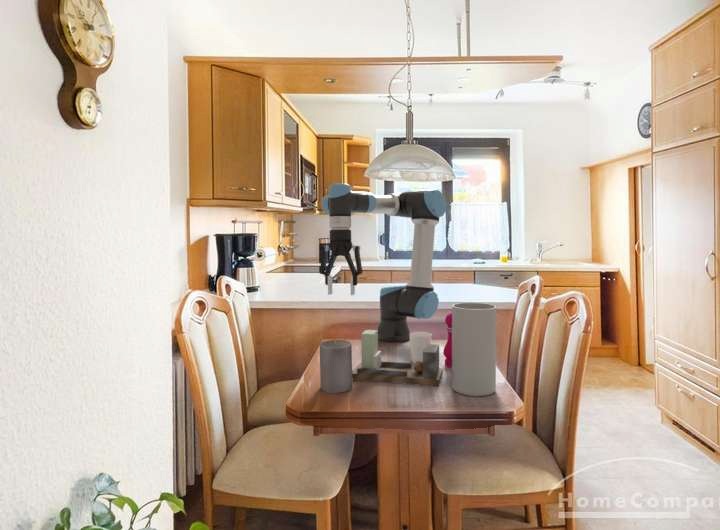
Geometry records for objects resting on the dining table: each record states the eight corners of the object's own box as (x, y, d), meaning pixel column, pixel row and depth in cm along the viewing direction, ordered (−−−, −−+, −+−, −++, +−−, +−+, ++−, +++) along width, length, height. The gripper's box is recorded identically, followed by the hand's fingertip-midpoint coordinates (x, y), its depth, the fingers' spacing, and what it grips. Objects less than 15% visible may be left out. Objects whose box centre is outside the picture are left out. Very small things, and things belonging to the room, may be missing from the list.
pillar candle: (328, 381, 145) (327, 334, 144) (357, 384, 141) (356, 336, 140) (314, 391, 136) (313, 342, 135) (345, 395, 132) (343, 344, 131)
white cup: (435, 360, 167) (435, 333, 166) (425, 365, 160) (425, 337, 159) (415, 357, 171) (415, 330, 170) (405, 362, 165) (405, 334, 164)
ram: (361, 370, 148) (360, 334, 147) (366, 364, 154) (366, 329, 153) (376, 371, 146) (376, 334, 145) (381, 365, 153) (380, 330, 152)
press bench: (350, 379, 146) (349, 348, 145) (360, 368, 158) (359, 340, 157) (439, 386, 139) (439, 353, 138) (442, 374, 150) (442, 344, 150)
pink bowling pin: (464, 368, 156) (464, 310, 155) (443, 367, 157) (443, 310, 156) (464, 362, 163) (464, 307, 162) (443, 361, 165) (443, 306, 163)
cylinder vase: (468, 380, 144) (468, 301, 142) (503, 389, 135) (504, 305, 133) (443, 389, 136) (443, 306, 134) (479, 400, 127) (480, 311, 125)
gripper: (308, 229, 158) (310, 295, 159) (366, 228, 152) (367, 296, 154) (316, 229, 165) (317, 292, 167) (371, 228, 160) (372, 293, 161)
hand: (341, 294), depth 160 cm, fingers open, 8 cm apart
